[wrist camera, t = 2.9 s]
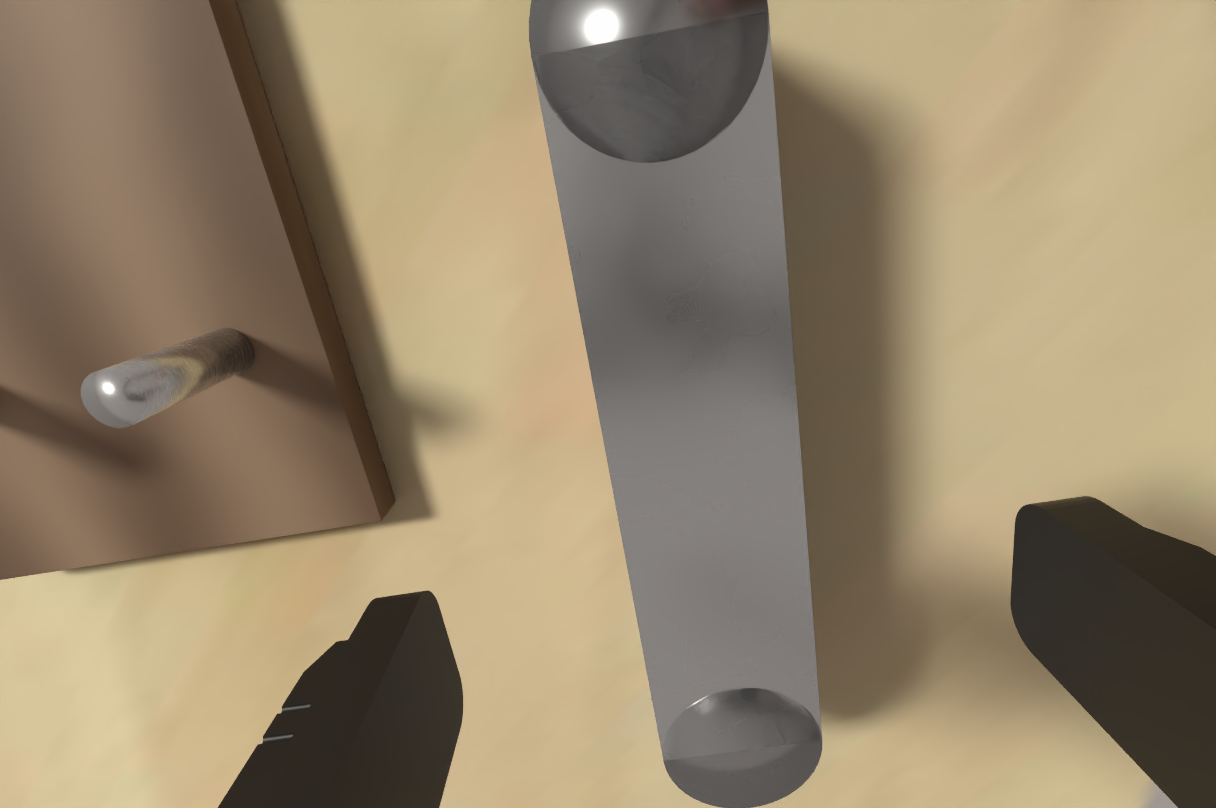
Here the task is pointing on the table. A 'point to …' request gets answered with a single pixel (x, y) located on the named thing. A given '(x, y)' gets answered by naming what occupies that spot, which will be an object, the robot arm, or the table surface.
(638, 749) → the table surface
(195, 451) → the tool rest
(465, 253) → the table surface
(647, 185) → the grey long metal bar
